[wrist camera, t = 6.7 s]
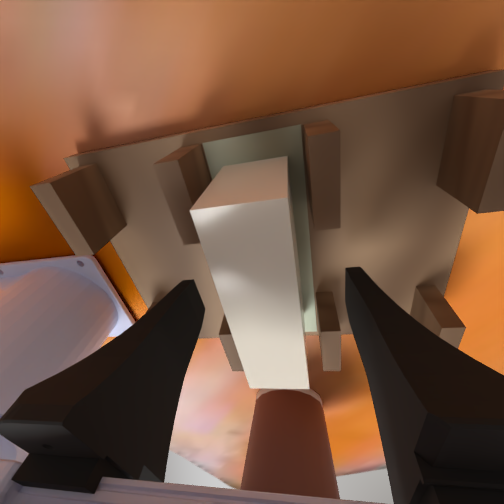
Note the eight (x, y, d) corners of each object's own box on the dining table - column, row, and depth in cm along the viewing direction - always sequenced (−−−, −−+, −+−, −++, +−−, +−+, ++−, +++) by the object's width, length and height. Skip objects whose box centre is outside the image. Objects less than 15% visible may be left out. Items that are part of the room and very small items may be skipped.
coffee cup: (352, 387, 23) (403, 626, 13) (317, 429, 28) (333, 623, 18) (253, 364, 22) (226, 588, 13) (235, 411, 28) (206, 596, 18)
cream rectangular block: (259, 315, 17) (250, 388, 13) (223, 166, 12) (189, 210, 8) (303, 313, 17) (309, 389, 12) (287, 155, 11) (287, 197, 7)
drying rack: (170, 329, 21) (148, 375, 18) (77, 153, 14) (9, 176, 10) (426, 319, 17) (459, 376, 14) (489, 70, 10) (593, 64, 7)
